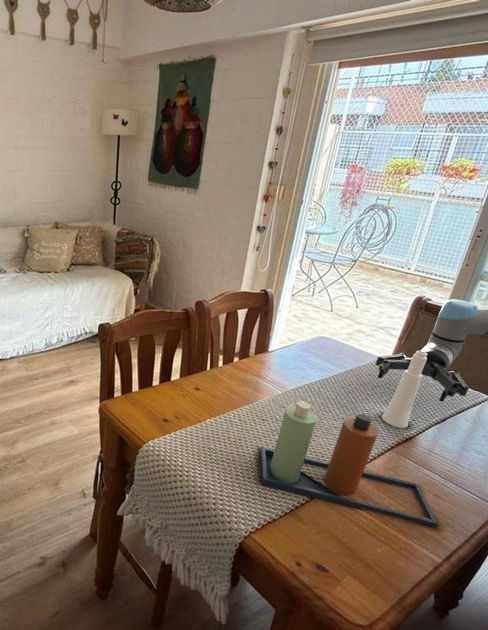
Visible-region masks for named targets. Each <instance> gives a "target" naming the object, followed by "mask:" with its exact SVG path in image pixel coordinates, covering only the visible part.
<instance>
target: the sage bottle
mask: <svg viewBox="0 0 488 630" xmlns="http://www.w3.org/2000/svg"><path fill="white" fill-rule="evenodd" d="M311 408H312V407H311V404H310V403H308V402H306V401H300V400H299V401H297V402H296V404H295V405H291V406H288V407H286V408H285V410H284V414H283V418H282V421H281V425H280V428H279V432H278V435H277V440H276V442H275V443H276V444H275V447H274V449H273V450H274V454H273V458H272V461H271V465H270V472H271V474H272V475H273V476H274V477H275V478H277V479H278V480H280V481H283V482H286V483H294V482H296V481H298V479H299V476H300V472H301V471H302V469H303V465H304V464H305V463H304V459H305V457H306V456H307V453H308V450H309V447H310V443H311V440H312V436H313V433H314V430H315V427H316V424H317V421H318V417H317V415H316V414H315V413H314V412H313V411H311Z"/></svg>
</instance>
